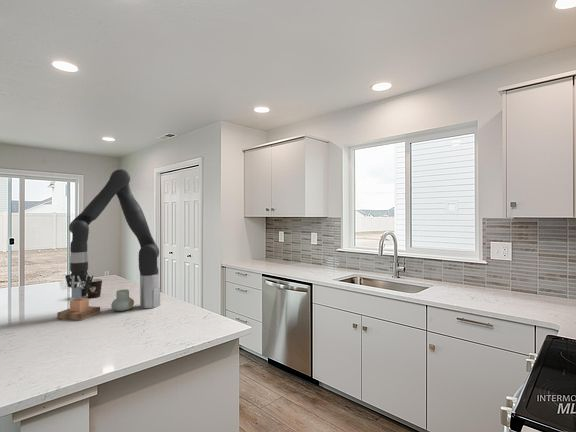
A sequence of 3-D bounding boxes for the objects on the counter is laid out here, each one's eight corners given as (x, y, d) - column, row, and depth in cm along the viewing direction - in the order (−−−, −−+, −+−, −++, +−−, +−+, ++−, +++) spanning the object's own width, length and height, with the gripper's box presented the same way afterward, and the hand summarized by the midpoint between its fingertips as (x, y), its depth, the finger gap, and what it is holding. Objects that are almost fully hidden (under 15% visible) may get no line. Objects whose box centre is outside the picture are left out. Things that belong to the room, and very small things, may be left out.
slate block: (86, 295, 162) (86, 286, 162) (79, 298, 158) (79, 288, 158) (79, 295, 163) (79, 286, 163) (71, 297, 159) (71, 288, 158)
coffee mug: (105, 295, 201) (105, 279, 200) (95, 298, 192) (95, 281, 192) (87, 294, 202) (87, 278, 202) (77, 298, 193) (77, 281, 193)
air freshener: (125, 312, 165) (125, 293, 165) (109, 312, 165) (109, 293, 165) (135, 306, 176) (135, 288, 176) (120, 306, 176) (120, 288, 176)
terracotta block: (88, 308, 163) (88, 298, 163) (79, 311, 157) (79, 301, 157) (79, 307, 164) (79, 297, 164) (69, 311, 158) (69, 300, 158)
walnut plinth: (100, 312, 165) (100, 306, 165) (81, 320, 153) (81, 314, 153) (77, 311, 168) (77, 305, 167) (57, 318, 156) (57, 312, 156)
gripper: (97, 260, 163) (98, 294, 163) (72, 259, 165) (73, 293, 165) (85, 262, 155) (86, 298, 155) (59, 261, 158) (60, 297, 158)
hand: (79, 295), depth 160 cm, fingers closed on slate block, 4 cm apart
